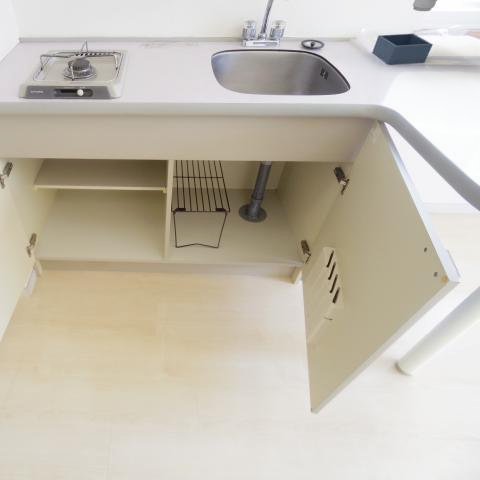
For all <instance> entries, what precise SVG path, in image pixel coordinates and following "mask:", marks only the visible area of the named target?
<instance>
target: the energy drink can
mask: <svg viewBox="0 0 480 480" xmlns="http://www.w3.org/2000/svg"><path fill="white" fill-rule="evenodd" d="M437 1H438V0H413V4H412V6H413V10H414V11H415V12H416V11H417V12H430V11H431V10H432V9H433V8H434V7H435V6H436V4H437Z"/></svg>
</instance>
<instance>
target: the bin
mask: <svg viewBox="0 0 480 480" xmlns="http://www.w3.org/2000/svg"><path fill="white" fill-rule="evenodd" d="M433 45H434V44H433V43H432V42H429V41H427V40H426V39H424V38H422V37H420V36H418V35H417V34H416V33H399V34H382V35H381V34H380V35H378V36H377V39H376V41H375V44H374V47H373V49H372V54H373V55H374V56H376V58H378V59H380V60H381V61H383V62H384V63H385V64H387V65H406V64H421V63H425V62H426V60H427V58H428V56H429V54H430V52H431V50H432V47H433Z"/></svg>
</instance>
